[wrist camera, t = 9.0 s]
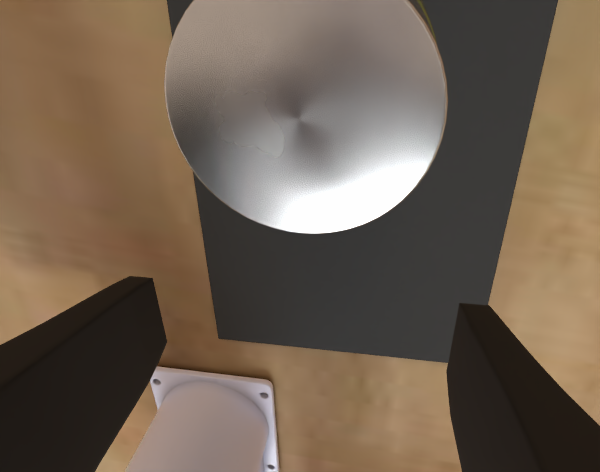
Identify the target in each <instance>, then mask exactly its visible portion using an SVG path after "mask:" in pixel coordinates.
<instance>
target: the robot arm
mask: <svg viewBox="0 0 600 472" xmlns="http://www.w3.org/2000/svg"><path fill="white" fill-rule="evenodd" d="M166 343H167V339H166V335H165V330H164V326H163V322H162V317H161V313H160V309H159V304H158V300H157V295H156V291H155V287H154V282H153V278H145V277H133V276H129V277H127V278H125V279H123V280H121V281H119V282H117V283H115V284H113V285H111V286H109V287H107V288H105V289H103V290H102V291H100V292H98V293H96V294H94V295H93V296H91V297H89V298H87V299H85V300H84V301H82V302H80V303H78V304H77V305H75V306H73V307H71V308H69V309H68V310H66V311H64V312H62V313H60V314H59V315H57V316H55V317H53V318H51V319H50V320H48V321H46V322H44V323H42V324H40V325H38V326H36V327H35V328H33V329H31V330H29V331H27V332H25V333H23V334H21V335H19V336H17V337H15V338H13V339H11V340H10V341H8V342H6V343H4V344H2V345H0V472H95V470H96V469H97V467H98V465H99V463H100V462H101V460H102V458H103V457H104V455H105V454H106V452H107V450H108V449H109V447H110V445H111V444H112V442H113V441H114V439H115V437H116V436H117V434H118V432H119V431H120V429H121V428H122V426H123V424H124V423H125V421H126V419H127V418H128V416H129V415H130V413H131V411H132V410H133V408H134V406H135V405H136V403H137V401H138V400H139V398H140V396H141V395H142V393H143V391H144V390H145V388H146V386H147V385H148V383H149V381H150V383H151V387H152V390H153V394H154V398H155V401H156V405H157V409H158V411H157V413H156V415H155V417H154V419H153V420H152V422H151V424H150V426H149V428H148V429H147V431H146V433H145V435H144V437H143V438H142V440H141V442H140V444H139V446H138V448H137V449H136V451H135V453H134V455H133V457H132V458H131V460H130V462H129V464H128V466H127V467H126V469H125V471H124V472H280V469H279V456H278V443H277V430H276V417H275V405H274V392H273V385H272V383H271V382H270V381H268V380H266V379H258V378H250V377H242V376H233V375H225V374H217V373H208V372H200V371H192V370H183V369H175V368H166V367H158V366H157V365H158V362H159V360H160V358H161V355H162V353H163V351H164V348H165V346H166ZM447 383H448V395H449V405H450V415H451V420H452V425H453V430H454V435H455V440H456V444H457V449H458V454H459V459H460V463H461V468H462V472H600V426H599V425H598V424H597V423H596V422H595V421H594V420H593V419H592V418H591V417H590V416H589V415H588V414H587V413H586V412H585V411H584V410H583V409H582V408H581V407H580V406H579V405H578V404H577V403H576V402H575V401H574V400H573V399H572V398H571V397H570V396H569V395H568V394H567V393H566V392H565V391H564V390H563V389H562V388H561V387H560V386H559V385H558V384H557V383H556V381H555V380H554V379H553V378H552V377H551V376H550V375H549V374H548V373H547V372H546V371H545V370H544V368H543V367H542V366H541V365H540V364H539V363H538V362H537V361H536V360H535V358H534V357H533V356H532V355H531V354H530V353H529V352H528V350H527V349H526V348H525V347H524V346H523V345H522V344H521V342H520V341H519V340H518V339H517V338H516V337H515V335H514V334H513V333H512V332H511V331H510V329H509V328H508V327H507V326H506V325H505V323H504V322H503V321H502V320H501V319H500V318H499V316H498V315H497V314H496V313H495V312H494V311H493V309H492V308H491V307H490V306H489V305H478V304H466V303H459V308H458V313H457V318H456V324H455V329H454V335H453V340H452V345H451V351H450V356H449V361H448V367H447Z"/></svg>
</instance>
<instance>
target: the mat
mask: <svg viewBox="0 0 600 472" xmlns="http://www.w3.org/2000/svg"><path fill="white" fill-rule="evenodd" d="M192 1H193V0H167V4H168V11H169V17H170V24H171V30H172V37H173V35H174V33H175V30H176V27H177V25H178V24H179V22H180V20H181V18H182V16H183V15H184V13H185V11H186V9H187V8H188V7H189V5H190V4H191V3H192ZM557 2H558V0H423V3H424V6H425V8H426V11H427V14H428V16H429V19H430V22H431V25H432V28H433V30H434V33H435V37H436V42H437V47H438V50H439V52H440V55H441V58H442V61H443V65H444V71H445V76H446V81H447V96H448V106H447V118H446V124H445V129H444V133H443V137H442V141H441V144H440V146H439V149H438V152H437V154H436V157H435V159H434V160H433V162H432V164H431V166H430V168H429V170H428V172H427V173H426V174H425V176H424V177H423V179H422V180H421V181H420V183H419V184H418V185H417V187H416V188H415V189H414V190H413V191H412V192H411V193H410V194H409V195H408V196H407V197H406V198H405V199H404V200H403V201H402V202H400V203H399V204H398V205H397V206H396V207H394V208H393V209H392V210H390V211H388V212H387V213H385V214H384V215H382V216H381V217H379V218H377V219H375V220H373V221H370V222H368V223H366V224H364V225H361V226H358V227H355V228H352V229H348V230H344V231H339V232H333V233H324V234H303V233H294V232H288V231H283V230H279V229H275V228H272V227H269V226H266V225H263V224H260V223H258V222H255V221H253V220H251V219H249V218H247V217H245V216H243V215H241V214H240V213H238V212H236V211H235V210H233V209H232V208H230V207H229V206H227V205H226V204H225V203H223V202H222V201H221V200H219V199H218V198H217V197H216V196H215V195H214V194H213V193H212V192H211V191H209V190H208V189H207V187H206V186H205V185H204V184H203V183H202V182H201V181H200V180H199V178H198V177H197V176H196V175H195V173H194V172H193V174H194V181H195V188H196V194H197V201H198V207H199V214H200V220H201V227H202V233H203V240H204V246H205V253H206V260H207V266H208V273H209V279H210V286H211V292H212V299H213V305H214V312H215V318H216V325H217V332H218V338H219V339H228V340H237V341H247V342H256V343H265V344H275V345H284V346H294V347H303V348H313V349H322V350H332V351H341V352H351V353H360V354H370V355H379V356H389V357H398V358H408V359H417V360H426V361H436V362H445V363H448V361H449V356H450V351H451V345H452V340H453V335H454V329H455V324H456V318H457V313H458V308H459V303H466V304H478V305H488V302H489V297H490V293H491V289H492V284H493V280H494V276H495V271H496V267H497V263H498V258H499V254H500V250H501V245H502V241H503V237H504V232H505V228H506V224H507V219H508V215H509V211H510V206H511V202H512V198H513V193H514V189H515V185H516V180H517V176H518V172H519V167H520V163H521V158H522V154H523V150H524V145H525V141H526V137H527V132H528V128H529V124H530V119H531V115H532V111H533V106H534V102H535V98H536V93H537V89H538V85H539V80H540V76H541V72H542V67H543V63H544V59H545V54H546V50H547V46H548V41H549V37H550V33H551V28H552V24H553V20H554V15H555V11H556V7H557Z"/></svg>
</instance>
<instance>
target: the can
mask: <svg viewBox="0 0 600 472" xmlns="http://www.w3.org/2000/svg"><path fill="white" fill-rule="evenodd" d="M164 85H165V102H166V108H167V114H168V119H169V122H170V125H171V129H172V132H173V135H174V137H175V140H176V142H177V144H178V147H179V149H180V151H181V153H182V154H183V156H184V158H185V160H186V162H187V163H188V165H189V166H190V168H191V169H192V170H193V172H194V173H195V175H196V176H197V177H198V178H199V180H200V181H201V182H202V183H203V184H204V185H205V186H206V187H207V189H208V190H209V191H211V192H212V193H213V194H214V195H215V196H216V197H217V198H218V199H219V200H221V201H222V202H223V203H225V204H226V205H227V206H229V207H230V208H232V209H233V210H235V211H236V212H238V213H240V214H241V215H243V216H245V217H247V218H249V219H251V220H253V221H255V222H258V223H260V224H263V225H266V226H269V227H272V228H275V229H279V230H283V231H288V232H294V233H303V234H324V233H333V232H339V231H344V230H348V229H352V228H355V227H358V226H361V225H364V224H366V223H368V222H370V221H373V220H375V219H377V218H379V217H381V216H382V215H384V214H385V213H387V212H388V211H390V210H392V209H393V208H394V207H396V206H397V205H398V204H399V203H400V202H402V201H403V200H404V199H405V198H406V197H407V196H408V195H409V194H410V193H411V192H412V191H413V190H414V189H415V188H416V187H417V185H418V184H419V183H420V181H421V180H422V179H423V177H424V176H425V174H426V173H427V172H428V170H429V168H430V166H431V164H432V162H433V160H434V159H435V157H436V154H437V152H438V149H439V146H440V144H441V141H442V137H443V133H444V129H445V124H446V118H447V106H448V96H447V81H446V76H445V71H444V65H443V61H442V58H441V55H440V52H439V50H438V47H437V42H436V37H435V33H434V30H433V28H432V25H431V22H430V19H429V16H428V14H427V11H426V8H425V6H424V3H423V0H193V1H192V3H191V4H190V5H189V7H188V8H187V9H186V11H185V13H184V15H183V16H182V18H181V20H180V22H179V24H178V25H177V27H176V30H175V33H174V35H173V38H172V41H171V43H170V47H169V52H168V56H167V61H166V68H165V80H164Z"/></svg>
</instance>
